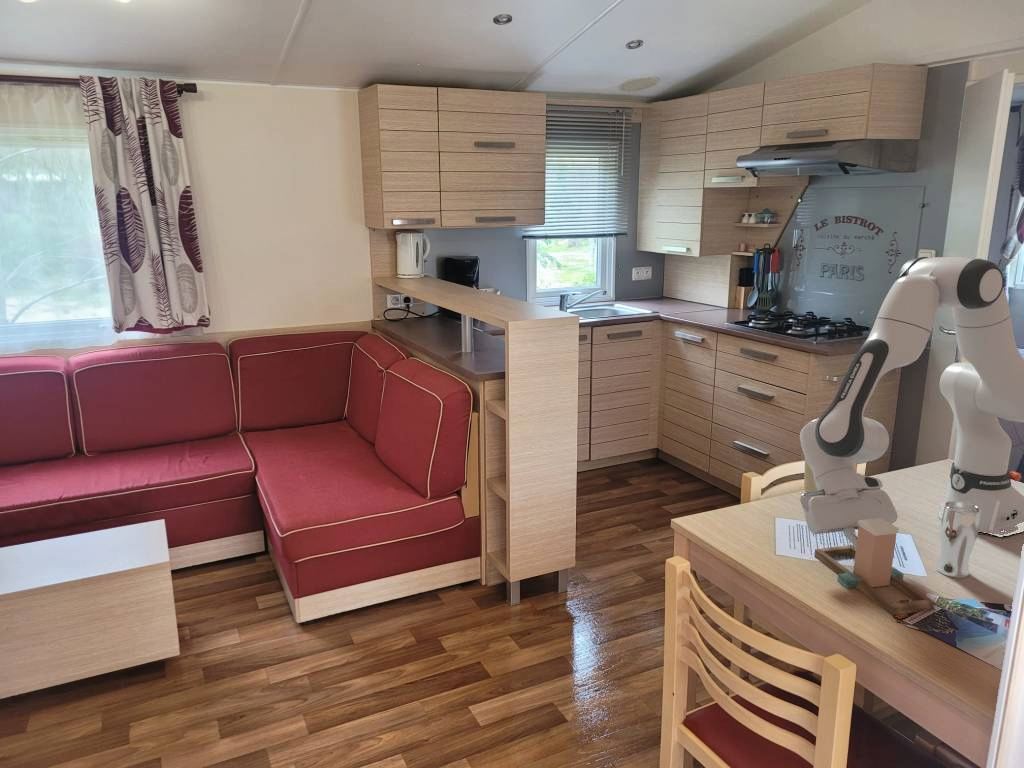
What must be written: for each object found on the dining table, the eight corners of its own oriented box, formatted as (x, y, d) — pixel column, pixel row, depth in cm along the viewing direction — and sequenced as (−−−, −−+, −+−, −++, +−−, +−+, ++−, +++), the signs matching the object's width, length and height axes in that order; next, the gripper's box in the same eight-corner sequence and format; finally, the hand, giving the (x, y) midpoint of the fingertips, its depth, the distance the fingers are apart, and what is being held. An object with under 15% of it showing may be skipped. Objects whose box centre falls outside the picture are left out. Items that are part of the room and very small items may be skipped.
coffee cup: (841, 502, 197) (846, 459, 194) (804, 499, 199) (808, 457, 196) (833, 489, 206) (838, 447, 203) (798, 486, 207) (802, 445, 204)
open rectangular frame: (858, 550, 170) (859, 544, 170) (942, 608, 147) (943, 600, 146) (806, 556, 168) (807, 550, 167) (883, 616, 144) (884, 609, 144)
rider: (873, 572, 160) (880, 517, 157) (890, 585, 155) (898, 528, 152) (851, 575, 159) (858, 520, 156) (868, 588, 154) (875, 531, 151)
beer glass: (970, 582, 156) (981, 516, 153) (932, 573, 160) (942, 509, 156) (971, 568, 162) (982, 504, 158) (934, 560, 166) (944, 497, 162)
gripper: (804, 486, 160) (828, 549, 154) (887, 478, 165) (913, 538, 158) (790, 498, 166) (813, 558, 159) (871, 490, 170) (895, 548, 163)
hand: (863, 548), depth 158 cm, fingers closed, pressing on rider
